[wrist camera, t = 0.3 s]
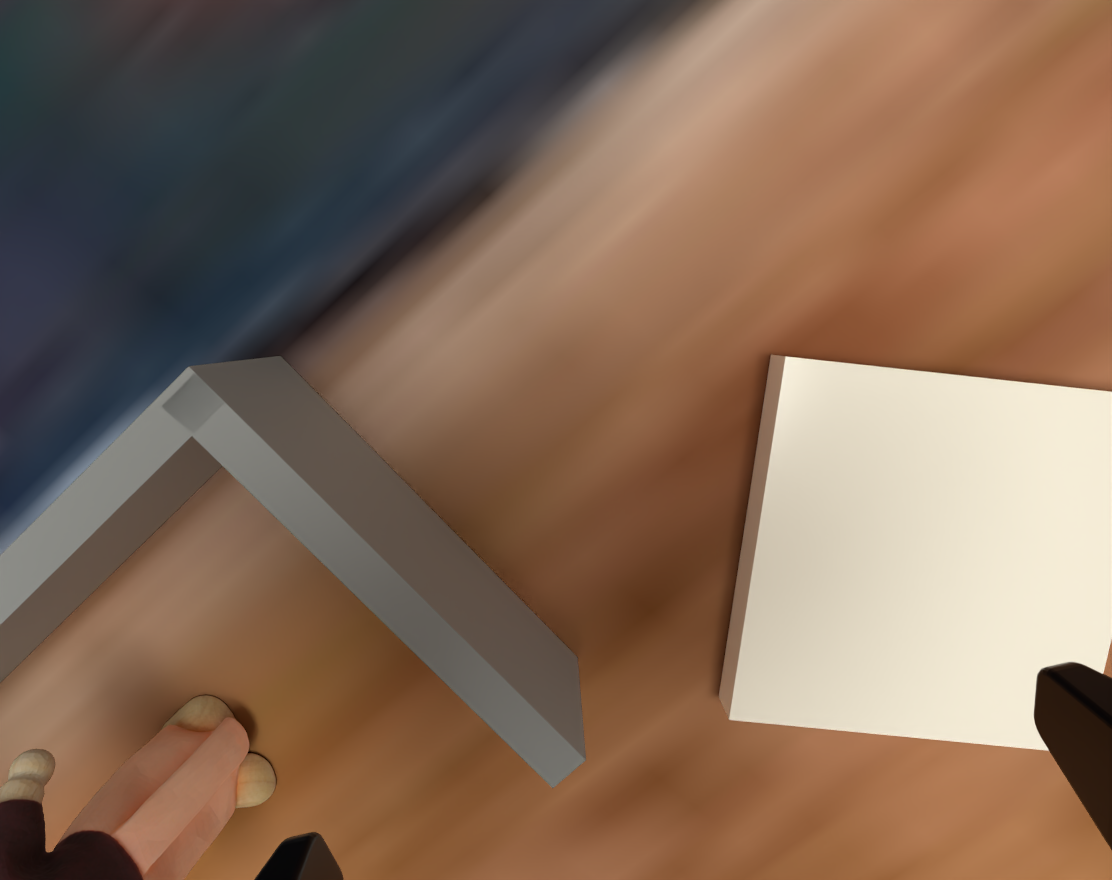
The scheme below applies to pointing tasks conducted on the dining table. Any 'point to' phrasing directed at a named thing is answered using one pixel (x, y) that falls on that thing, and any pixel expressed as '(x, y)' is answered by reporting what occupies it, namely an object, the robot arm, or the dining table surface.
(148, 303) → the dining table surface
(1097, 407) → the ceramic tile
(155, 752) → the grandmother figurine
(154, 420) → the open crate
